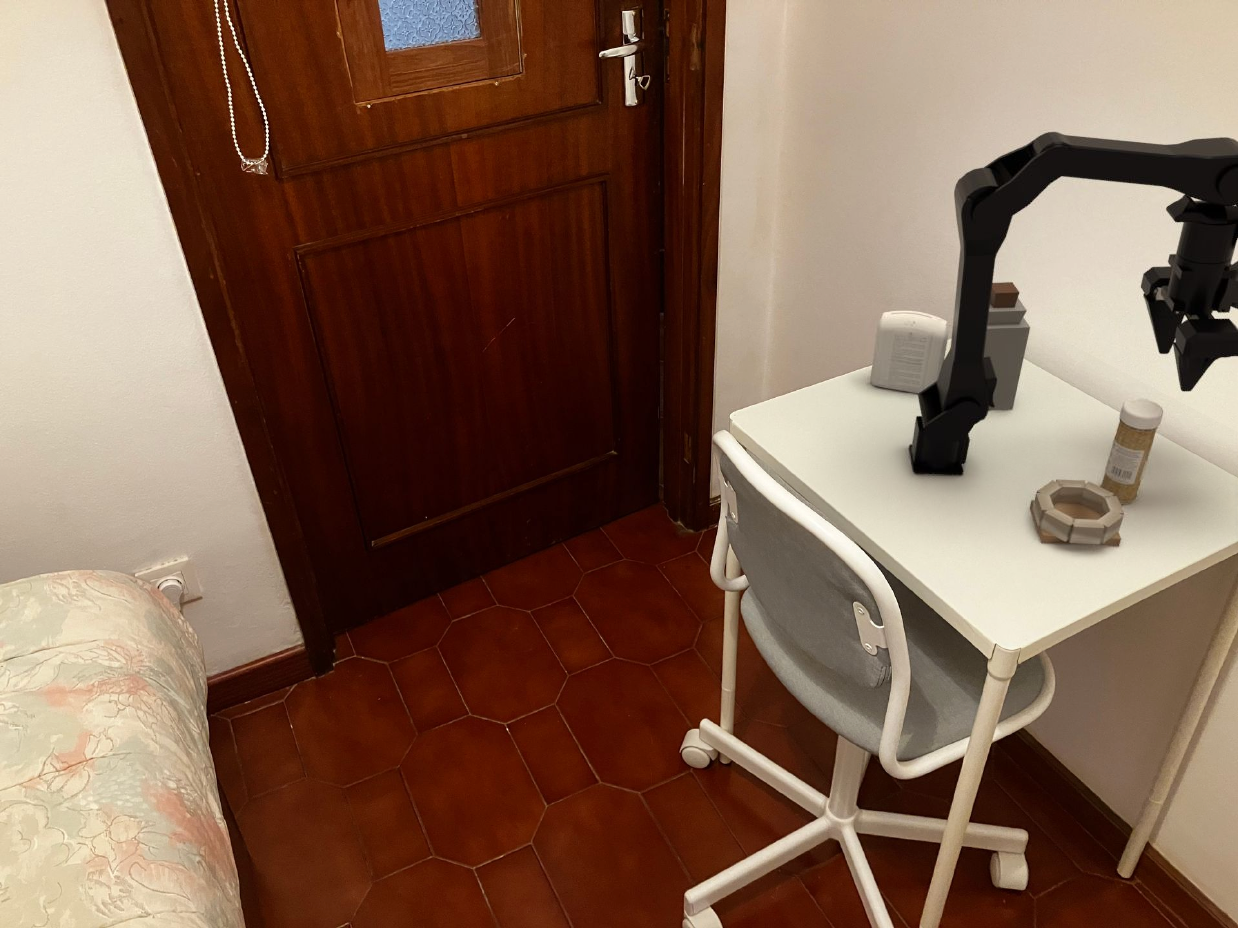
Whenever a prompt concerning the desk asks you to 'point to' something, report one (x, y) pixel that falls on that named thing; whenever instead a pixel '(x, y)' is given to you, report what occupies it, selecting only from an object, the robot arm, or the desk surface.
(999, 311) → the perfume bottle
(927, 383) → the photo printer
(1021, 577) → the desk surface
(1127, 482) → the sprinkles bottle
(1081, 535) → the octagonal open basket
